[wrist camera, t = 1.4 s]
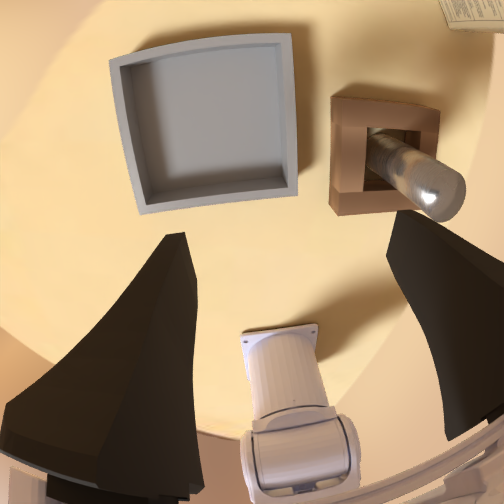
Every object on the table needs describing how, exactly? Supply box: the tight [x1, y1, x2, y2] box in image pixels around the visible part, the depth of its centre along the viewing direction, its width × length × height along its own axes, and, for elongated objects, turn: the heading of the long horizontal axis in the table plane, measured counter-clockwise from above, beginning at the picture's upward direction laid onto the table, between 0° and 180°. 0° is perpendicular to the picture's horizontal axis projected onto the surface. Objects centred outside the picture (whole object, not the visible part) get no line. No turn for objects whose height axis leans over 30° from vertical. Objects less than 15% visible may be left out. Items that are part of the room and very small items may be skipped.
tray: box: [109, 33, 298, 215], centre depth 15 cm, size 10×10×2 cm
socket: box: [329, 97, 440, 216], centre depth 18 cm, size 8×8×2 cm
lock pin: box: [365, 133, 466, 222], centre depth 15 cm, size 3×3×8 cm
